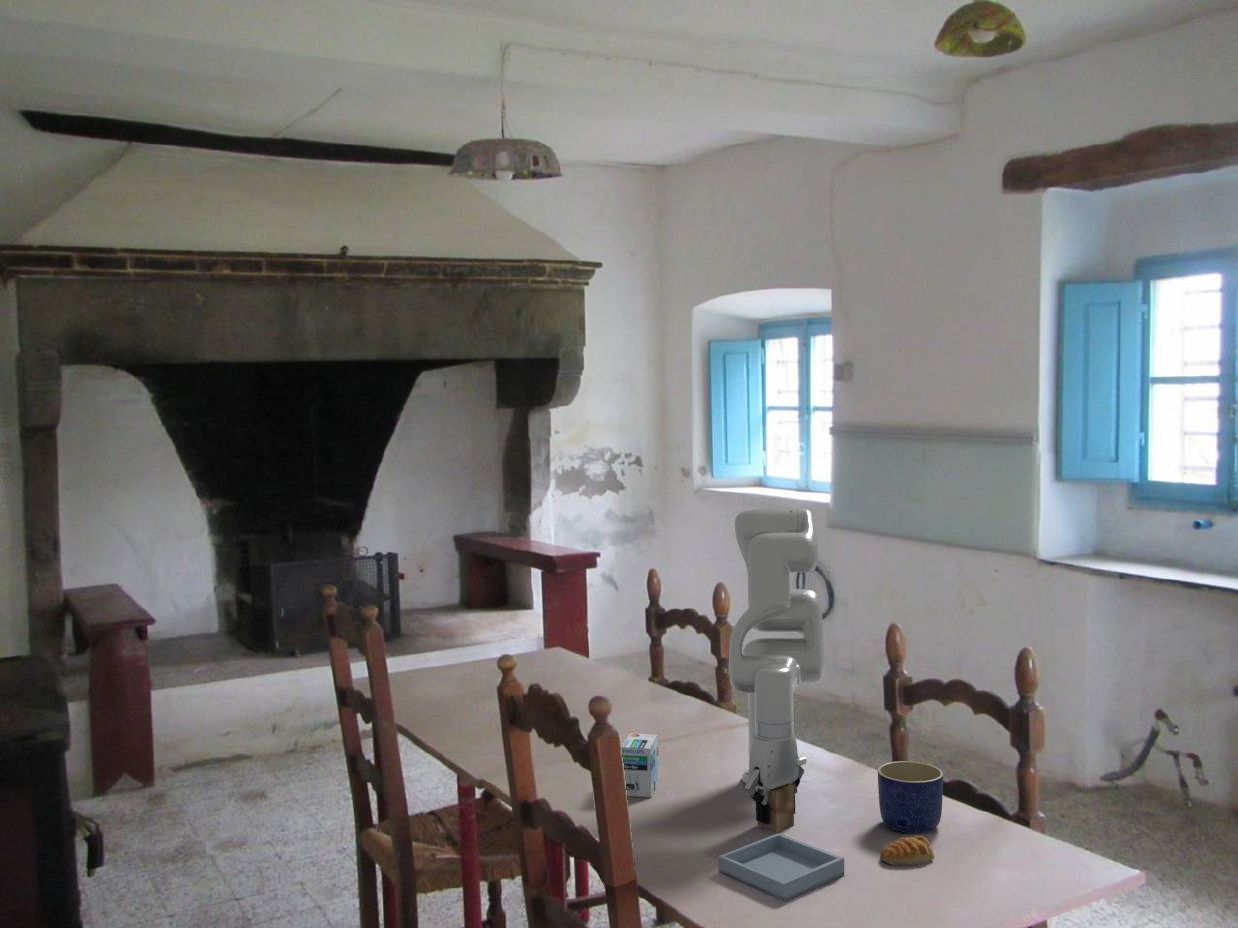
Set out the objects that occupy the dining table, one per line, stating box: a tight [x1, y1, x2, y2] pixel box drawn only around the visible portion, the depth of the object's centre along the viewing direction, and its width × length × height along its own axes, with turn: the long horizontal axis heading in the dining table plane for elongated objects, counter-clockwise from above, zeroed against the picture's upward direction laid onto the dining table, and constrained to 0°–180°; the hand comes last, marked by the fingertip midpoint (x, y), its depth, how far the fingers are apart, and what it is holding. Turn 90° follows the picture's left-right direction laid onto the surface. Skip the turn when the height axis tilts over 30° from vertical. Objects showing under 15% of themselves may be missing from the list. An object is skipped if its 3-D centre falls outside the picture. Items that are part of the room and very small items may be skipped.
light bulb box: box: [620, 732, 660, 798], centre depth 242 cm, size 11×7×11 cm, turn 168°
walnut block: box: [757, 784, 795, 833], centre depth 219 cm, size 5×5×8 cm
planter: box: [877, 760, 944, 834], centre depth 217 cm, size 12×12×11 cm
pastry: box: [879, 834, 935, 866], centre depth 202 cm, size 9×7×4 cm
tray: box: [717, 832, 845, 903], centre depth 197 cm, size 16×16×3 cm
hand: (775, 816), depth 219 cm, fingers open, 6 cm apart
